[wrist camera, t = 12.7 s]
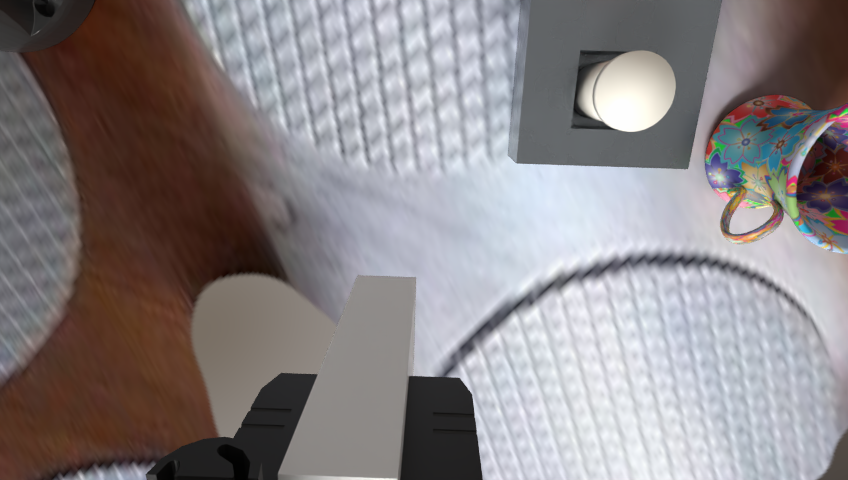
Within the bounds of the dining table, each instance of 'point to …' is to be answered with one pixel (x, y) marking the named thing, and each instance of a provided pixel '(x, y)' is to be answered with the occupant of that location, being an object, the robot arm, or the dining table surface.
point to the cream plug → (626, 90)
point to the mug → (783, 168)
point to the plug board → (594, 42)
